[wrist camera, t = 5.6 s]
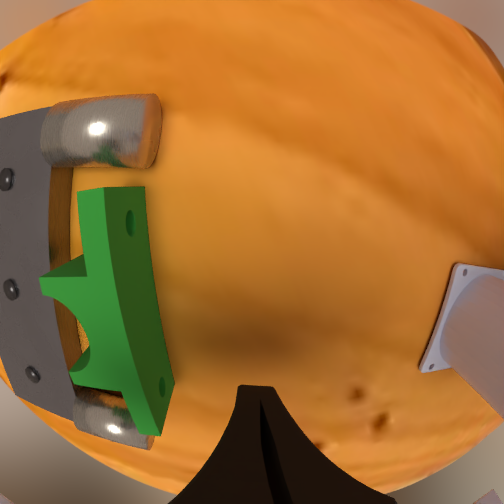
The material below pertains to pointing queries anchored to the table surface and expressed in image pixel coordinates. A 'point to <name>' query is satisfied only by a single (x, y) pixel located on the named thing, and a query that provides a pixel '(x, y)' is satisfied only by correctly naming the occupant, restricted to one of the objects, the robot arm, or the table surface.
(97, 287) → the green notched block
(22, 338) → the fixed leaf
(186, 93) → the table surface
